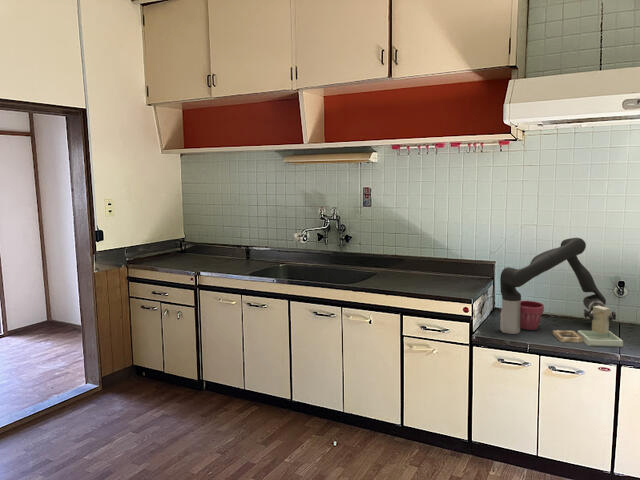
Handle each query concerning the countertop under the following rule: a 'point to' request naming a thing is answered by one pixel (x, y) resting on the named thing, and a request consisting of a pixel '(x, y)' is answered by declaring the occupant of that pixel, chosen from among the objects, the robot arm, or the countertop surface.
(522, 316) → the plant pot
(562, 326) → the countertop surface
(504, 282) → the robot arm
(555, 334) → the wooden frame
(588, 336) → the sage tray
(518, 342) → the countertop surface
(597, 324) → the skincare box
